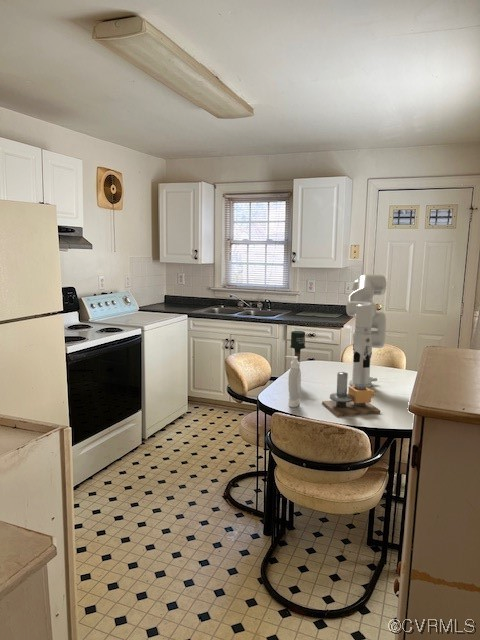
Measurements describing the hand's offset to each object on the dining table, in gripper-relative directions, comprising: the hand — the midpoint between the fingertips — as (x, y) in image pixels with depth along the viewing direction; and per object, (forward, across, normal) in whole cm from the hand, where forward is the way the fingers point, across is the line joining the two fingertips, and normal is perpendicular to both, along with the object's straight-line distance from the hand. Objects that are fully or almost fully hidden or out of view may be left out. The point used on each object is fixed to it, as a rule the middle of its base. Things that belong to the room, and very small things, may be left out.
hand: (361, 364), depth 229 cm
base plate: (+22, -1, +5) cm, 22 cm away
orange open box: (+18, -1, -1) cm, 18 cm away
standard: (+20, -1, +10) cm, 22 cm away
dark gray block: (+20, -1, 0) cm, 20 cm away
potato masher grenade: (+23, +45, +16) cm, 53 cm away
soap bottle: (+22, +11, +31) cm, 39 cm away
